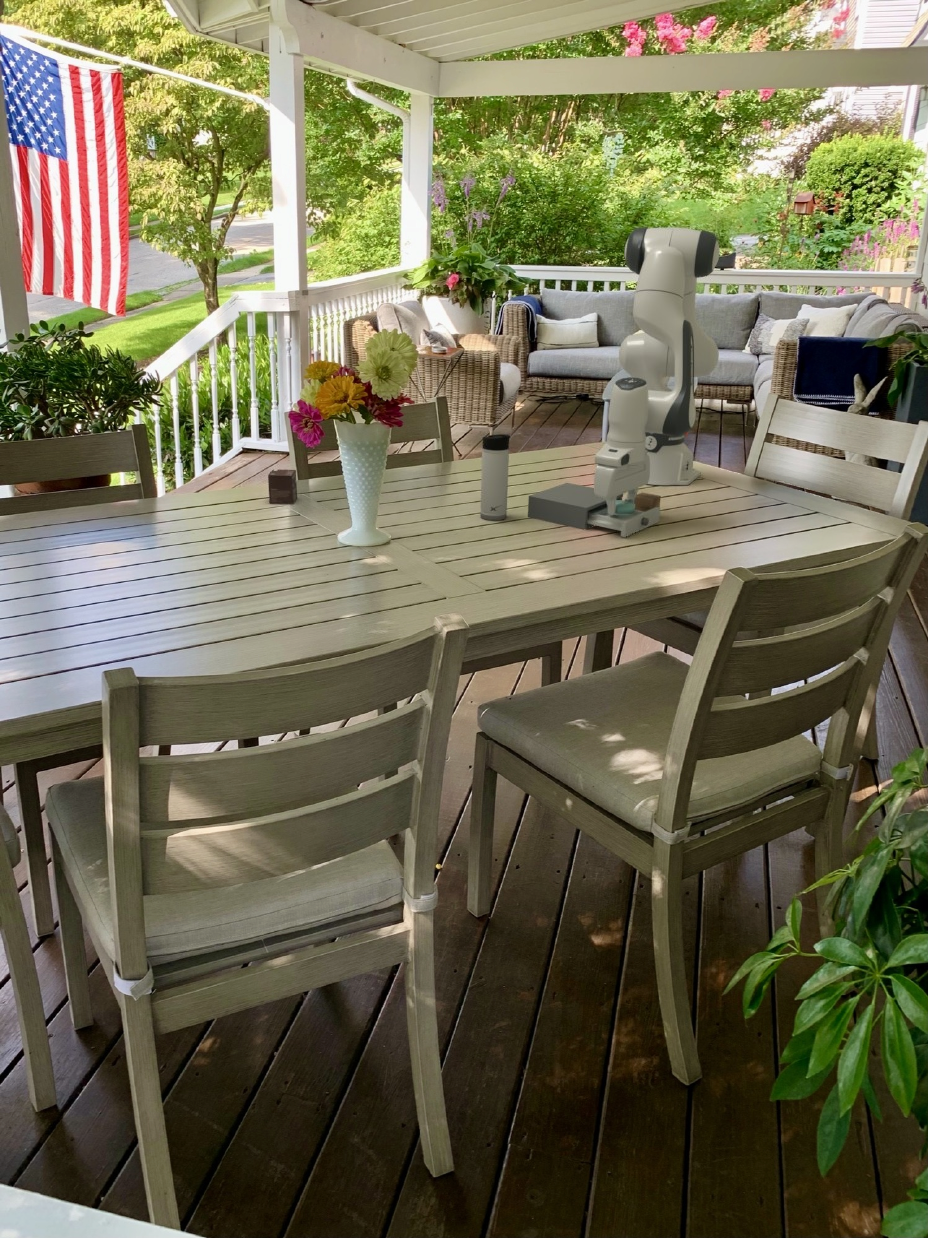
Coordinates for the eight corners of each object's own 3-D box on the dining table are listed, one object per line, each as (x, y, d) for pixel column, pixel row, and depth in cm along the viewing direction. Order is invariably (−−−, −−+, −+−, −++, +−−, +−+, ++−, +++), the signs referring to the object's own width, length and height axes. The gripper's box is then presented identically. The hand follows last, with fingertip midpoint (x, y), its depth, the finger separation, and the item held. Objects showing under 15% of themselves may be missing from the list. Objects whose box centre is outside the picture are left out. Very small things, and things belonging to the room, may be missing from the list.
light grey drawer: (601, 509, 250) (602, 495, 249) (662, 522, 241) (664, 508, 239) (565, 524, 238) (566, 509, 236) (628, 538, 228) (629, 523, 227)
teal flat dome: (615, 505, 241) (616, 498, 241) (639, 510, 238) (640, 503, 237) (601, 510, 237) (602, 503, 236) (626, 515, 233) (626, 508, 232)
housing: (565, 502, 256) (566, 482, 254) (621, 514, 247) (623, 493, 245) (527, 516, 243) (528, 495, 242) (585, 529, 235) (586, 507, 233)
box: (293, 504, 250) (292, 475, 247) (268, 504, 250) (267, 474, 247) (297, 498, 255) (296, 469, 253) (273, 497, 255) (272, 468, 253)
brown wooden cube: (640, 512, 249) (642, 492, 248) (658, 515, 247) (660, 495, 245) (630, 516, 246) (632, 496, 244) (649, 520, 243) (651, 500, 241)
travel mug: (497, 522, 239) (500, 437, 231) (475, 517, 242) (477, 433, 235) (512, 516, 243) (516, 433, 236) (490, 511, 247) (493, 429, 239)
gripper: (635, 442, 241) (630, 498, 247) (590, 456, 226) (586, 516, 231) (659, 446, 238) (653, 503, 243) (615, 461, 223) (610, 521, 228)
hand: (620, 510), depth 237 cm, fingers open, 6 cm apart
